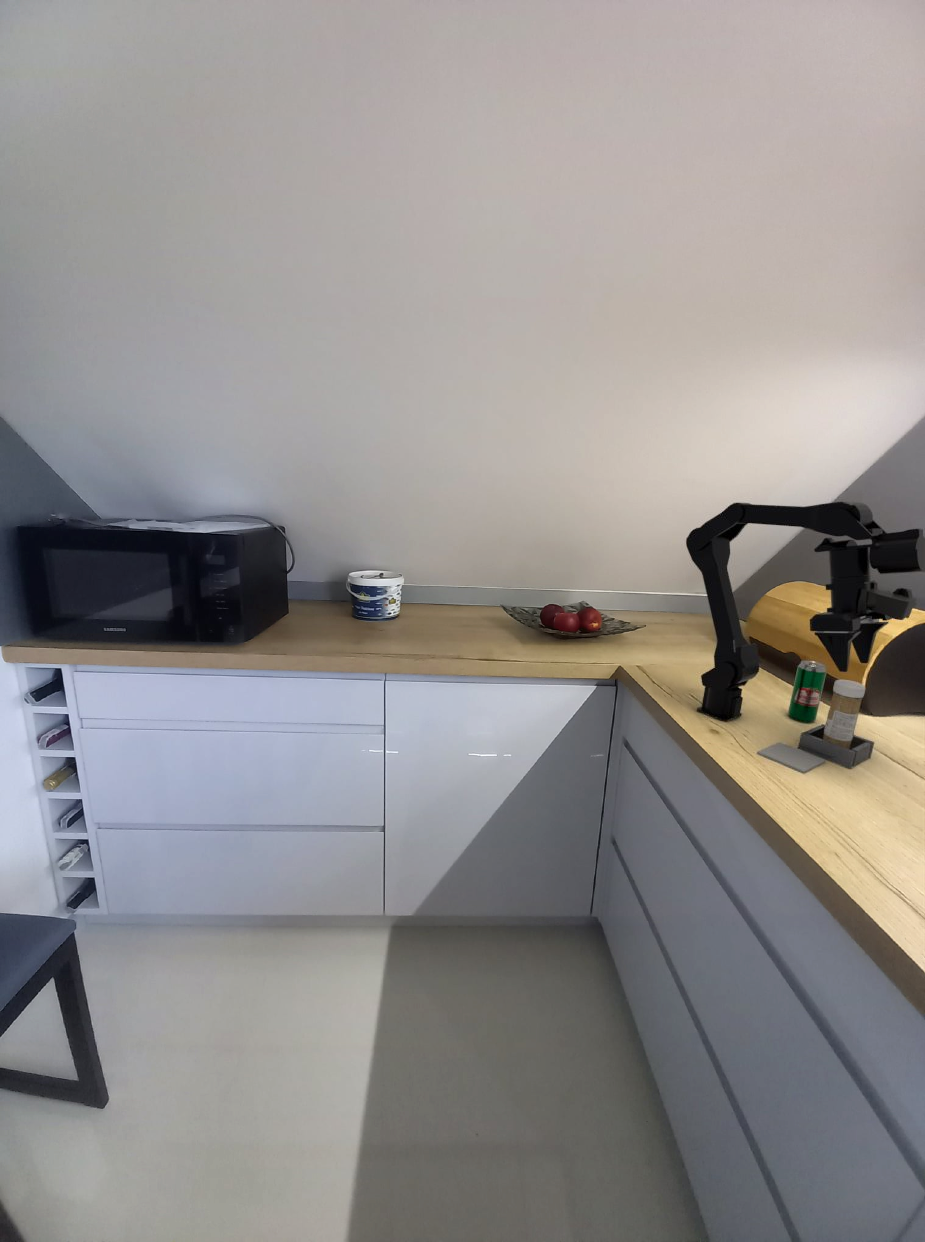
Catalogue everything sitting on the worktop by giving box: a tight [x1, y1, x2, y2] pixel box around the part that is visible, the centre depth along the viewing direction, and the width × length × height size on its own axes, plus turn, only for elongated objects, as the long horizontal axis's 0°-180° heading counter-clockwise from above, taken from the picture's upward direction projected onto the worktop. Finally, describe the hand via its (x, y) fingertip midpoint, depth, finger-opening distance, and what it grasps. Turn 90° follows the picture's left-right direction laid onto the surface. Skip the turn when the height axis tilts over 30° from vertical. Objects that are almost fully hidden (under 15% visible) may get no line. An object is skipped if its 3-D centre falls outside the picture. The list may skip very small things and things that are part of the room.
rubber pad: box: [756, 741, 827, 774], centre depth 100 cm, size 8×8×1 cm
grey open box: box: [797, 723, 875, 770], centre depth 102 cm, size 9×9×3 cm
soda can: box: [787, 660, 827, 724], centre depth 116 cm, size 5×5×12 cm
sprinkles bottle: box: [823, 679, 866, 749], centre depth 101 cm, size 5×5×13 cm
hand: (854, 667), depth 97 cm, fingers open, 9 cm apart
